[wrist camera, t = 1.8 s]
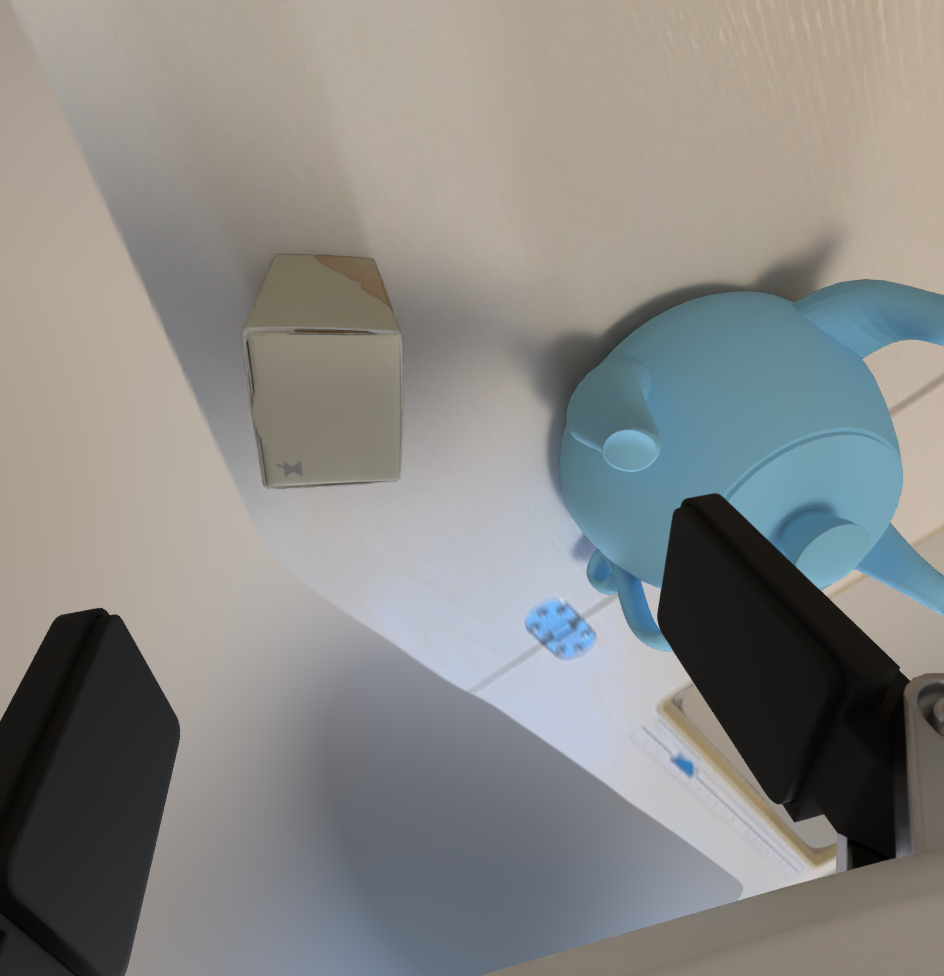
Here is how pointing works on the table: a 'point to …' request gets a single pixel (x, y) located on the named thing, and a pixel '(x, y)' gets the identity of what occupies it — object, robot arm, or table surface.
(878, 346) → the teapot
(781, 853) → the table surface
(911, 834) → the robot arm
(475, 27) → the table surface
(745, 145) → the table surface
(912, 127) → the table surface
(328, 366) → the box
